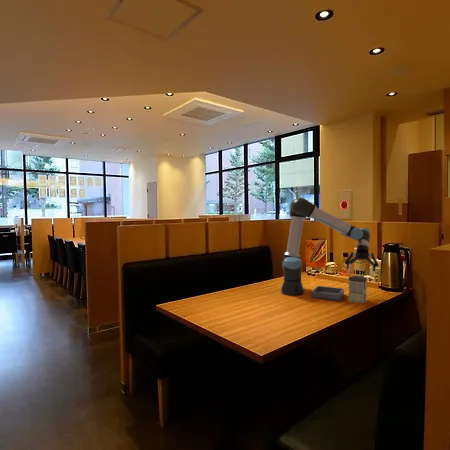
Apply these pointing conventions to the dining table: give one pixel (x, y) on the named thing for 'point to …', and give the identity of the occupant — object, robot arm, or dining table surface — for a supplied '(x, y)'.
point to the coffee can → (357, 289)
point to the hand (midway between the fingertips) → (360, 274)
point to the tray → (328, 293)
